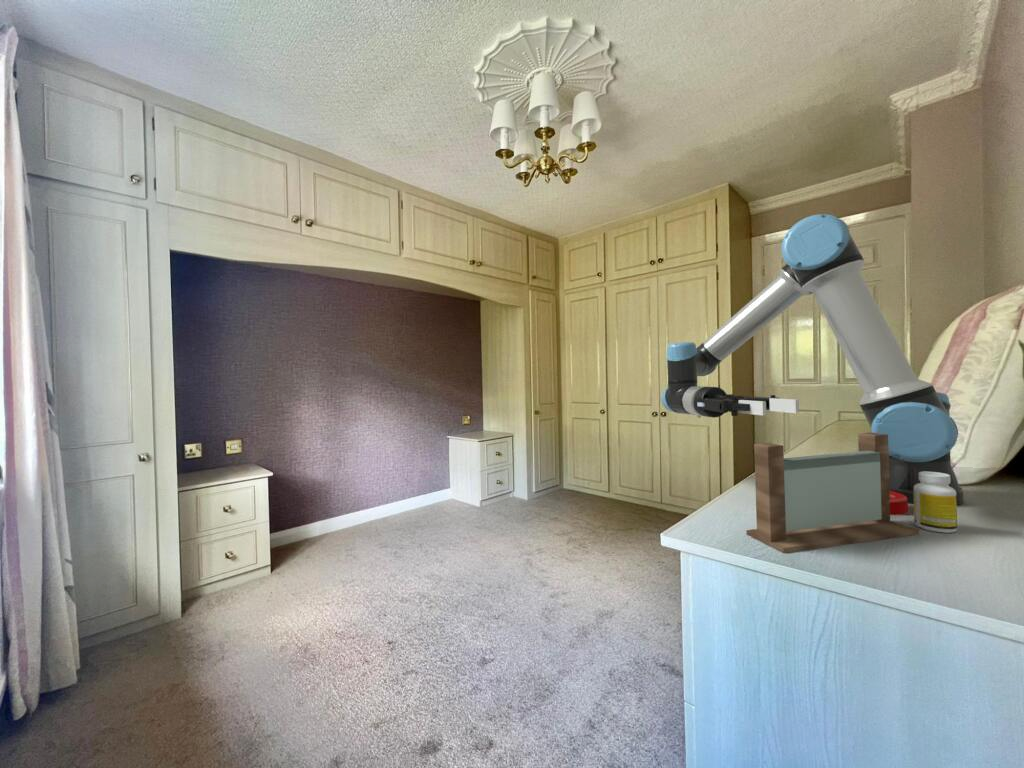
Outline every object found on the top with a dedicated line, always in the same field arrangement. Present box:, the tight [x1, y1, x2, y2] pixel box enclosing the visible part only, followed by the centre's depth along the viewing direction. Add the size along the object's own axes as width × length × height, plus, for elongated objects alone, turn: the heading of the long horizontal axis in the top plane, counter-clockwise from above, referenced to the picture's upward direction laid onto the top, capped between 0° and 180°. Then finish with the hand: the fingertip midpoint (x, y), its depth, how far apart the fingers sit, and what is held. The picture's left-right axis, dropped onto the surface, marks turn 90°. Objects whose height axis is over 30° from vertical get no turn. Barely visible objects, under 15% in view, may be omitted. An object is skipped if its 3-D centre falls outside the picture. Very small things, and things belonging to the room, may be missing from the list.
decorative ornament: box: [890, 491, 909, 516], centre depth 86 cm, size 10×10×3 cm
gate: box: [784, 451, 882, 531], centre depth 73 cm, size 20×2×12 cm, turn 101°
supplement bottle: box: [913, 471, 958, 534], centre depth 74 cm, size 5×5×10 cm
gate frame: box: [745, 431, 920, 553], centre depth 73 cm, size 27×8×17 cm, turn 101°
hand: (780, 407), depth 81 cm, fingers open, 7 cm apart
